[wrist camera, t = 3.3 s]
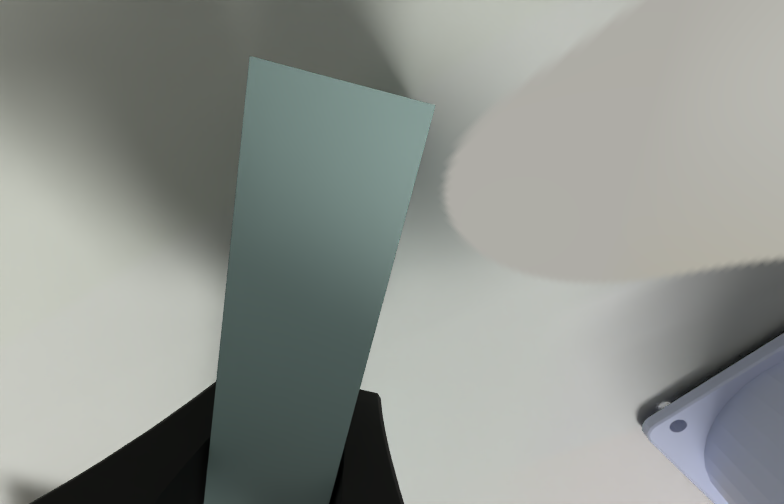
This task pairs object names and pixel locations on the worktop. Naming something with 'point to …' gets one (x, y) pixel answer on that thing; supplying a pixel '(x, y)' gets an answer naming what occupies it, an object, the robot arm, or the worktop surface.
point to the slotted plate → (306, 276)
